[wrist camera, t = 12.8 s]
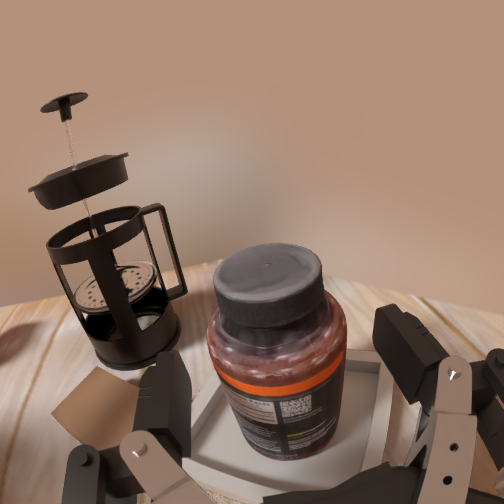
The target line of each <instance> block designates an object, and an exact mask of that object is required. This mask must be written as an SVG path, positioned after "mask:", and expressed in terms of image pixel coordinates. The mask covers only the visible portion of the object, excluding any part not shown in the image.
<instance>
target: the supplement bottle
mask: <svg viewBox="0 0 504 504" xmlns="http://www.w3.org/2000/svg"><path fill="white" fill-rule="evenodd" d="M213 284H214V289H215V292H216V296H217V301H218V308H217V309H216V310H215V312H214V313H213V315H212V317H211V319H210V321H209V324H208V329H207V345H208V349H209V353H210V356H211V359H212V362H213V364H214V367H215V370H216V373H217V375H218V377H219V380H220V382H221V385H222V387H223V390H224V392H225V395H226V397H227V399H228V402H229V404H230V406H231V409H232V411H233V414H234V416H235V418H236V420H237V423H238V425H239V427H240V429H241V431H242V434H243V436H244V437H245V439H246V441H247V442H248V444H249V445H250V446H251V447H252V448H253V449H254V450H255V451H256V452H258V453H260V454H261V455H263V456H265V457H268V458H270V459H274V460H279V461H293V460H300V459H303V458H307V457H309V456H311V455H313V454H315V453H317V452H318V451H320V450H321V449H323V448H324V447H325V446H326V445H327V444H328V443H329V441H330V440H331V439H332V437H333V435H334V434H335V432H336V429H337V426H338V421H339V417H340V409H341V401H342V392H343V383H344V372H345V360H346V348H347V324H346V318H345V314H344V312H343V309H342V308H341V306H340V304H339V303H338V301H337V300H336V299H335V298H334V297H333V296H332V295H331V294H330V293H329V292H327V291H326V290H325V289H324V285H323V279H322V265H321V262H320V260H319V258H318V257H317V255H316V254H315V253H313V252H312V251H311V250H309V249H307V248H304V247H301V246H298V245H293V244H286V243H270V244H261V245H257V246H253V247H249V248H246V249H243V250H241V251H238V252H236V253H234V254H233V255H231V256H229V257H228V258H226V259H225V260H224V261H222V262H221V263H220V265H219V266H218V267H217V268H216V270H215V272H214V275H213Z"/></svg>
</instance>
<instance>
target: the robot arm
mask: <svg viewBox="0 0 504 504" xmlns="http://www.w3.org/2000/svg"><path fill="white" fill-rule="evenodd" d="M372 339H373V344H374V347H375V349H376V351H377V352H378V354H379V356H380V357H381V359H382V360H383V362H384V363H385V365H386V367H387V368H388V370H389V371H390V373H391V375H392V376H393V378H394V380H395V381H396V383H397V384H398V386H399V388H400V389H401V391H402V393H403V394H404V396H405V398H406V399H407V401H408V403H409V404H410V405H411V404H413V403H415V402H418V401H419V402H420V403H421V407H420V411H419V416H418V421H417V426H416V431H415V435H414V439H413V443H412V447H411V450H410V452H409V454H408V456H407V459H406V461H405V464H404V466H395V467H391V466H390V464H389V462H385V463H383V464H381V465H378V466H375V467H373V468H370V469H368V470H365V471H362V472H359V473H358V474H356V475H355V476H353V477H351V478H350V479H348V480H346V481H345V482H343V483H341V484H339V485H337V486H336V487H334V488H332V489H328V490H310V491H292V492H287V493H282V494H276V495H270V496H264V497H262V498H263V503H260V504H504V409H503V408H502V406H501V405H500V403H499V402H498V400H497V399H496V396H497V395H498V396H499V397H500V399H501V400H502V402H503V403H504V349H499V348H497V349H493V350H491V351H490V352H489V353H488V355H487V357H486V359H485V360H482V361H477V362H472V363H468V362H467V361H466V360H465V359H463V358H461V357H457V356H450V355H449V354H448V353H447V352H446V351H445V349H444V348H443V347H442V346H441V345H440V343H439V342H438V341H437V340H436V339H435V338H434V336H433V335H432V334H431V333H429V331H428V329H427V328H426V327H424V325H423V324H422V323H421V321H420V320H419V319H418V318H417V317H415V316H414V315H412V314H410V313H408V312H404V313H403V312H402V311H401V310H400V309H399V308H398V306H397V305H396V304H389V305H386V306H383V307H379V308H377V309H376V312H375V320H374V328H373V336H372ZM138 397H139V398H138V400H137V405H136V411H135V417H134V423H133V429H132V432H131V433H129V434H128V435H126V436H125V437H124V438H123V440H122V441H121V444H120V445H118V446H115V447H111V448H107V449H104V450H100V451H98V450H97V449H95V448H94V447H93V446H91V445H86V444H84V445H79V446H77V447H75V448H74V449H73V450H72V451H71V453H70V455H69V457H68V462H67V468H66V474H65V481H64V488H63V496H62V504H137V494H140V493H144V492H146V493H147V494H148V495H149V497H150V498H151V504H218V503H217V502H216V501H215V500H214V499H213V498H212V497H211V496H209V495H208V494H207V493H206V492H205V491H204V490H203V489H202V488H201V487H200V486H199V485H198V484H197V483H196V482H195V481H194V480H193V479H192V477H191V476H190V475H189V474H188V473H187V472H186V471H185V470H184V469H183V468H182V458H190V457H191V401H192V386H191V380H190V376H189V374H188V372H187V370H186V367H185V365H184V363H183V361H182V358H181V356H180V354H179V352H178V351H177V350H174V351H167V352H159V353H158V355H157V361H156V366H149V367H148V368H147V370H146V371H145V373H144V374H143V376H142V378H141V384H140V389H139V394H138ZM476 431H478V433H479V435H480V436H481V438H482V440H483V442H484V444H485V446H486V447H487V449H488V451H489V453H490V455H491V457H492V459H493V461H494V463H495V465H496V467H497V469H498V471H499V473H498V477H497V482H496V483H495V489H496V490H497V491H499V495H498V496H495V495H491V494H488V493H485V492H481V491H478V490H475V489H472V488H469V482H470V477H471V471H472V465H473V458H474V451H475V442H476Z"/></svg>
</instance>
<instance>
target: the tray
mask: <svg viewBox="0 0 504 504" xmlns="http://www.w3.org/2000/svg"><path fill="white" fill-rule="evenodd" d="M393 384H394V378H393V376H392V375H391V373H390V371H389V370H388V368H387V367H386V365H385V363H384V362H383V360H382V359H381V357H380V356H379V354H378V352H375V351H363V350H353V349H346V360H345V372H344V383H343V392H342V401H341V409H340V417H339V421H338V426H337V429H336V432H335V434H334V435H333V437H332V439H331V440H330V441H329V443H328V444H327V445H326V446H325V447H324V448H323V449H321V450H320V451H318V452H317V453H315V454H313V455H311V456H309V457H307V458H303V459H300V460H293V461H279V460H274V459H270V458H268V457H265V456H263V455H261V454H260V453H258V452H256V451H255V450H254V449H253V448H252V447H251V446H250V445H249V444H248V442H247V441H246V439H245V437H244V436H243V434H242V431H241V429H240V427H239V425H238V423H237V420H236V418H235V416H234V414H233V411H232V409H231V406H230V404H229V402H228V399H227V397H226V395H225V392H224V390H223V387H222V385H221V382H220V380H219V377H218V375H217V373H216V370H214V372H213V373H212V375H211V376H210V378H209V379H208V381H207V382H206V383H205V385H204V386H203V388H202V389H201V391H200V392H199V394H198V395H197V396H196V398H195V399H194V401H193V402H192V404H191V457H190V458H182V468H183V469H184V470H185V471H186V472H187V473H188V474H189V475H190V476H191V477H192V479H193V480H194V481H195V482H196V483H197V484H198V485H199V486H201V487H203V488H205V489H208V490H210V491H212V492H215V493H217V494H220V495H223V496H225V497H228V498H231V499H233V500H236V501H239V502H242V503H245V504H260V503H263V498H262V497H264V496H270V495H276V494H282V493H287V492H292V491H310V490H328V489H332V488H334V487H336V486H337V485H339V484H341V483H343V482H345V481H346V480H348V479H350V478H351V477H353V476H355V475H356V474H358V473H359V472H362V471H365V470H368V469H370V468H373V467H375V466H378V465H381V464H382V459H383V454H384V449H385V443H386V437H387V431H388V425H389V418H390V411H391V403H392V394H393Z"/></svg>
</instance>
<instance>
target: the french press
mask: <svg viewBox="0 0 504 504" xmlns="http://www.w3.org/2000/svg"><path fill="white" fill-rule="evenodd" d="M87 97H88V94H87V93H82V92H79V93H71V94H66V95H63V96H60V97H58V98H56V99H53V100H51V101H50V102H48V103H47V104H45V105H44V106H43V107H42V108H41V110H40V111H41V112H42V113H48V112H53V111H57V110H59V111H60V115H61V120H62V122H65V125H66V131H67V136H68V141H69V146H70V151H71V156H72V160H73V164H74V166H71V167H68V168H66V169H63V170H60V171H58V172H55V173H53V174H51V175H48V176H47V177H46V178H44V179H43V180H42V181H41V182H40V183H39V184H37V185H35V186H33V187H31V188H29V189H28V192H32V191H34V194H35V196H36V198H37V199H38V201H39V202H40V204H41V205H42V206H44V207H45V208H46V209H50V210H55V209H58V208H61V207H64V206H67V205H70V204H72V203H75V202H78V201H80V200H83V203H84V206H85V210H86V213H87V216H88V217H86V218H84V219H82V220H79V221H77V222H75V223H73V224H72V225H69V226H67V227H66V228H64V229H62V230H61V231H59V232H58V233H56V234H55V235H54V236H52V238H50V239H49V241H48V242H47V243H46V247H47V250H48V253H49V255H50V258H51V260H52V262H53V265H54V267H55V270H56V272H57V275H58V277H59V279H60V281H61V284H62V286H63V288H64V290H65V292H66V295H67V297H68V299H69V301H70V303H71V305H72V307H73V309H74V311H75V313H76V315H77V317H78V319H79V321H80V323H81V324H82V326H83V328H84V330H85V332H86V334H87V335H88V337H89V339H90V341H91V343H92V344H93V346H94V348H95V351H96V355H97V357H98V358H99V360H100V361H101V362H102V363H103V364H104V365H105V366H107V367H109V368H112V369H115V370H134V369H139V368H142V367H145V366H148V365H150V364H152V363H154V362H156V361H157V355H158V353H159V352H167V351H170V350H171V349H172V348H173V347H174V345H175V344H176V343H177V341H178V339H179V337H180V332H181V323H180V321H179V318H178V316H177V315H176V314H175V313H174V311H173V308H172V305H171V302H170V301H171V300H173V299H176V298H178V297H181V296H183V295H185V294H187V292H188V290H187V286H186V283H185V279H184V276H183V273H182V269H181V266H180V262H179V259H178V255H177V252H176V248H175V244H174V241H173V237H172V234H171V230H170V226H169V222H168V218H167V214H166V210H165V208H164V206H163V205H161V204H160V203H155V204H152V205H149V206H146V207H143V208H141V207H139V206H124V207H118V208H114V209H110V210H106V211H103V212H100V213H97V214H94V215H91V212H90V209H89V205H88V202H87V198H88V197H91V196H93V195H96V194H98V193H101V192H103V191H105V190H108V189H111V188H113V187H115V186H117V185H119V184H121V183H123V182H125V181H127V180H128V176H127V172H126V167H125V163H124V157H127V156H128V153H124V154H120V155H103V156H100V157H97V158H94V159H91V160H88V161H85V162H82V163H79V164H78V163H77V159H76V154H75V149H74V144H73V140H72V134H71V130H70V123H69V120H71V119H72V116H71V106H72V105H75V104H77V103H79V102H81V101H83V100H85V99H86V98H87ZM155 211H159V214H160V218H161V222H162V226H163V230H164V233H165V237H166V241H167V244H168V248H169V251H170V254H171V258H172V261H173V265H174V268H175V272H176V275H177V278H178V281H179V285H178V286H175V287H173V288H170V289H168V290H166V288H165V285H164V282H163V279H162V276H161V273H160V270H159V267H158V264H157V261H156V258H155V254H154V251H153V248H152V244H151V241H150V238H149V234H148V231H147V227H146V224H145V220H144V217H143V215H146V214H149V213H152V212H155ZM122 220H129V221H128V222H126V223H124V224H123V225H121V226H119V227H117V228H115V229H113V230H111V231H109V232H106V229H105V226H104V225H105V224H109V223H113V222H117V221H122ZM142 230H143V232H144V235H145V238H146V242H147V245H148V248H149V252H150V255H151V258H152V261H153V264H154V265H153V264H152V263H150V262H146V261H129V262H123V263H119V264H117V262H116V259H115V256H114V253H113V249H115V248H117V247H119V246H121V245H123V244H124V243H126V242H128V241H130V240H131V239H132V238H134V237H135V236H137V235H138V234H139V233H140V232H141V231H142ZM87 231H89V234H90V237H91V239H89V240H87V241H84V242H81V243H78V244H74V245H70V246H67V247H62V246H63V245H64V244H66V243H67V242H69V241H70V240H72V239H73V238H75V237H77V236H79V235H81V234H83V233H84V232H87ZM85 260H88V261H89V264H90V266H91V269H92V271H93V274H94V275H92V276H91V277H89V278H88V279H87V280H85V281H84V282H83V283H82V284H81V285H80V286H79V288H78V289H77V290H76V292H75V294H74V296H73V293H72V291H71V289H70V287H69V285H68V283H67V280H66V278H65V276H64V274H63V271H62V268H61V266H60V265H66V264H73V263H78V262H81V261H85ZM156 273H157V275H156ZM157 276H158V279H159V282H160V285H161V288H162V289H161V288H159V287H156V286H153V285H154V283H155V281H156V278H157ZM81 311H82V312H83V313H86V314H88V316H87V317H86V320H85V318H84V316H83V314H82V312H81ZM144 314H153V315H158V316H160V317H159V318H158V319H157V320H156V321H155V322H154V323H153V324H152V325H150V326H149V327H148V328H146V329H144V330H143V331H142V330H141V328H140V326H139V323H138V321H137V319H136V317H135V316H138V315H144ZM116 326H117V328H118V330H119V332H120V334H121V335H122V337H123V339H119V340H111V341H107V338H108V336H109V334H110V333H111V331H112V330H113V329H114V328H115V327H116Z"/></svg>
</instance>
